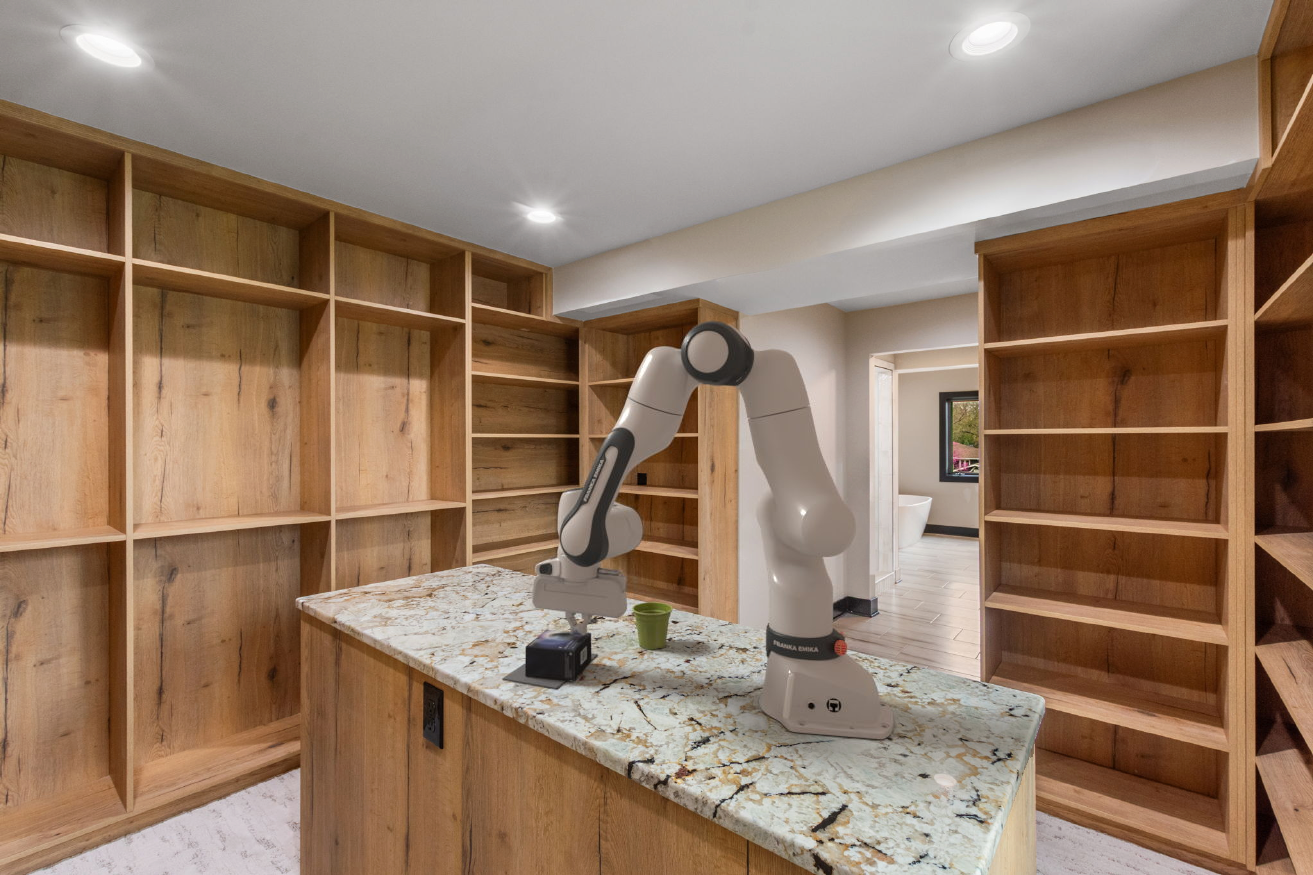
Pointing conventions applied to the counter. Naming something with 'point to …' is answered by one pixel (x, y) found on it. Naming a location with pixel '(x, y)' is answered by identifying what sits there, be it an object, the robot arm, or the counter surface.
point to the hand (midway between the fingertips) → (578, 633)
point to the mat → (535, 678)
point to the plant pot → (652, 623)
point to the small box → (558, 655)
